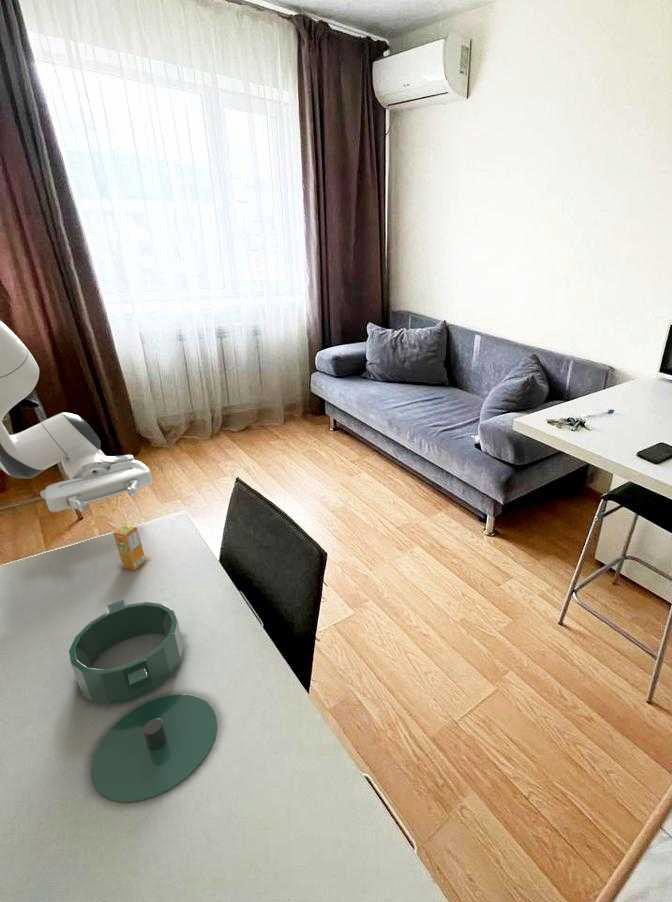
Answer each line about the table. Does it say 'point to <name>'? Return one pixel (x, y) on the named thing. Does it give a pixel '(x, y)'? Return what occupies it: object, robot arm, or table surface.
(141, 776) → the pot lid
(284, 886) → the table surface
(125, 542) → the supplement box
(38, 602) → the table surface
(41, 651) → the table surface
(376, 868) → the table surface
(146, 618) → the pot
